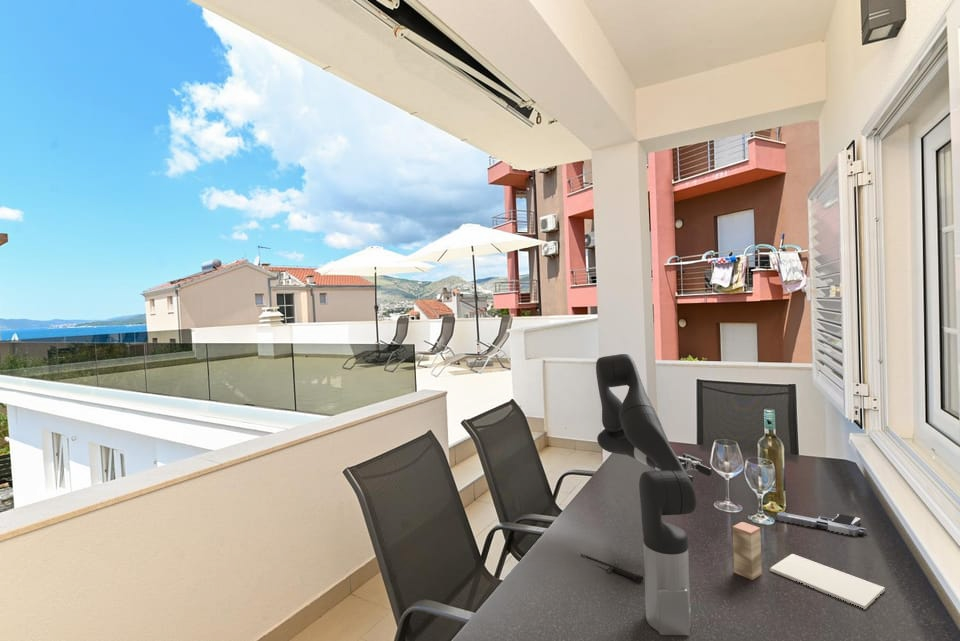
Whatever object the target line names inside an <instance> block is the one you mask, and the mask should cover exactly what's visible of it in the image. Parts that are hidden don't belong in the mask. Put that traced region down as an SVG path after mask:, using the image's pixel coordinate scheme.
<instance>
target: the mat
mask: <svg viewBox="0 0 960 641" xmlns="http://www.w3.org/2000/svg"><path fill="white" fill-rule="evenodd" d="M769 571H770V572H772V573H774V574H777V575H779V576H781V577H784V578H786V579H789V580H792V581H794V582H796V581H797V582H796V583H799V582H800V584H801V583H803V584H802V585H803V586H806V585H807V587H808V586H809V588H810V589H811V588H812V589H813V588H814V589H813V590H816V591H818V592H821V593H823V594H825V595H828V594H829V595H828V596H830V595H831V597H833V598H835V597H836V599H838V598H839V599H838V600H840V599H841V600H840V601H843V600H844V601H843V602H845V601H846V602H845V603H848V604H850V603H851V604H850V605H852V604H854V605H853V606H855V605H856V606H855V607H857V606H859V607H858V608H860V607H861V608H860V609H862V608H863V609H862V610H866V609H868V607H869V606H870V605H872V604H873V603H874V602H875V601H876V600H877V599H878V598H879V597H880V596H881V595H882V594H883V593H884V592H885V589H886V588H885V586H882V585H879V584H876V583H874V582H871V581H868V580H865V579H863V578H860V577H857V576H854V575H852V574H850V573H849V574H848V573H846V572H843V571H841V570H838V569H836V568H832V567H830V566H827V565H824V564H822V563H819V562H816V561H813V560H811V559H808V558H806V557H802V556H800V555H797V554H794V553H791V554H789V555H788V556H786V557H785V558H782V559H781V560H780V561H778V562H776V564H774V565H772V566H771V567H770V568H769ZM880 594H881V595H880ZM876 598H877V599H876ZM875 599H876V600H875Z"/></svg>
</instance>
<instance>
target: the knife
mask: <svg viewBox="0 0 960 641" xmlns="http://www.w3.org/2000/svg"><path fill="white" fill-rule="evenodd" d="M580 554H581V556H582V555H584V556H582V557H583V558H582V557H581V558H582V559H583V560H584V561H587V562H588V563H590V564H591V565H594V566H597V567H600V568H602V569H605V570H607V571H606V574H607V575H608V574H611V573H612V572H614V573H616V574H619V575H621V576H624V577H627V578H629V579H632V580H634V581H636V582H639V583H642V582H643V580H644V575H640V574H639V575H638V574H636V573H633V572H632V571H631V572H630V571H628V570H625V569H623V568H620V567H619V566H620V564H619V562H614V563H613V564H610V563H608V562H605V561H602V560H599V559H596V558H594V557H591V556H589V555H586V554H583V553H580ZM585 556H586V557H585Z"/></svg>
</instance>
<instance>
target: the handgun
mask: <svg viewBox="0 0 960 641" xmlns="http://www.w3.org/2000/svg"><path fill="white" fill-rule="evenodd" d="M775 518H776V520H777V521H778V522H782V521H785V522H784V523H787V522H790V523H789V524H792V523H796V524H800V525H799V526H801V525H807V526H811V527H815V528H814V529H816V528H817V529H819V528H822V529H821V530H824V529H826V530H825V531H828V530H830V531H829V532H831V531H834V532H833V533H836V532H839V533H838V534H841V533H844V534H843V535H846V534H848V535H847V536H850V535H853V536H852V537H856V536H855V535H858V536H862V537H864V536H865V535H867V532H868V531H867V528H865V527H859V526H860V525H861V518H860V517H857V516H851V515H847V514H841V513H836V516H834V518H829V517H825V516H818V518H814V517H809V516H804V515H799V514H793V513H787V512H784V511H783V512H781V511H779V512H777V513H776V516H775ZM796 524H795V525H796ZM859 524H860V525H859ZM857 525H858V526H857ZM807 526H806V527H807ZM856 526H857V527H856ZM811 527H810V528H811Z"/></svg>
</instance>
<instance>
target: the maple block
mask: <svg viewBox="0 0 960 641" xmlns="http://www.w3.org/2000/svg"><path fill="white" fill-rule="evenodd" d="M761 539H762V538H761V527H759V526H756V525H753V524H752V523H751V524H750V523H747V522H744V521H741V522H739V523H737V524H735V525H733V526H732V547H733V548H732V549H733V572H734V573H735V574H737V575H740V576H742V577H744V578H746V579H749V580H751V581H753V580H756V579H757V578H758V577H760V576H761V575H762V572H763V571H762V570H763V569H762V547H761V546H762V545H761V544H762V543H761V542H762V540H761Z"/></svg>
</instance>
